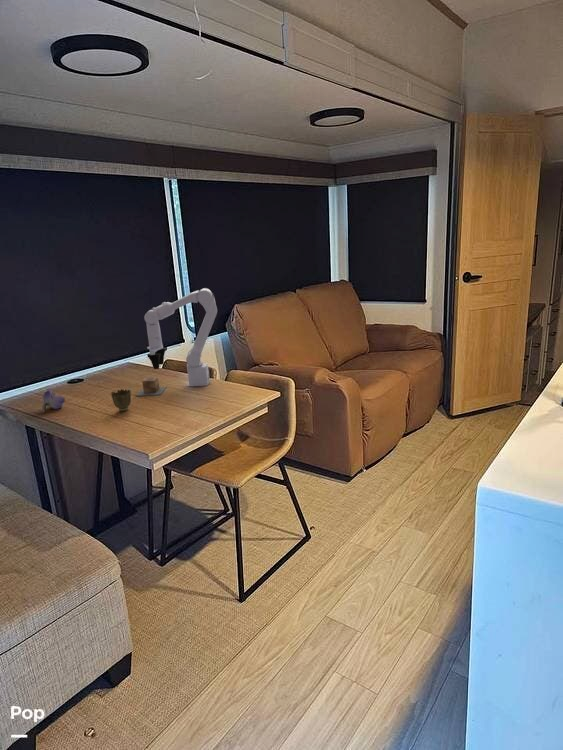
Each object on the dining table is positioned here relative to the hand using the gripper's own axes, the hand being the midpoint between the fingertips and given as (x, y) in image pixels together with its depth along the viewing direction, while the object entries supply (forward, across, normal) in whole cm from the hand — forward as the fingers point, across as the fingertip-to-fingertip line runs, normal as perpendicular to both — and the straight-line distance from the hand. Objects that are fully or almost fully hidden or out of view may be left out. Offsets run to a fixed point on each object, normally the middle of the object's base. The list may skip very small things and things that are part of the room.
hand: (158, 366), depth 218 cm
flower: (+10, +23, -40) cm, 47 cm away
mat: (+10, +6, -3) cm, 12 cm away
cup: (+10, +29, -8) cm, 32 cm away
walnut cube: (+10, +6, -3) cm, 12 cm away
